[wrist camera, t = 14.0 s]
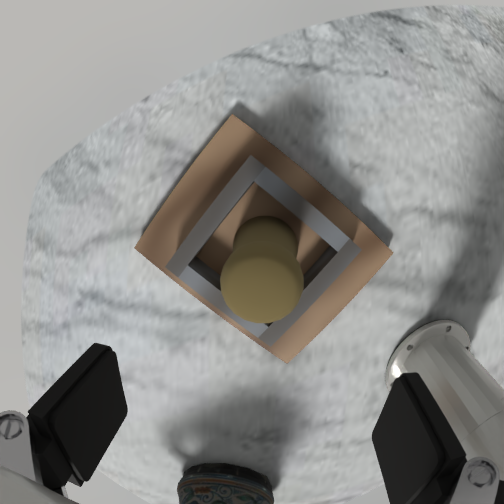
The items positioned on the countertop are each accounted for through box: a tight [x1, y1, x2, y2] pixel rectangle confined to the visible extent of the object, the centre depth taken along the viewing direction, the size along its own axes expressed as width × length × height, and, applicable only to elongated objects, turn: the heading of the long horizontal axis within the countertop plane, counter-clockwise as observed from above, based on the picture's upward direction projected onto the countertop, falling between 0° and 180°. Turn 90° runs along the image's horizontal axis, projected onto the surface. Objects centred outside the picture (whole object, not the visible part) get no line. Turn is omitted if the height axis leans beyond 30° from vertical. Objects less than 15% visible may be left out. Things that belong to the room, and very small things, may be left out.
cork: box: [220, 216, 304, 323], centre depth 22 cm, size 6×6×11 cm
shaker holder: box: [135, 114, 393, 363], centre depth 27 cm, size 20×16×4 cm
